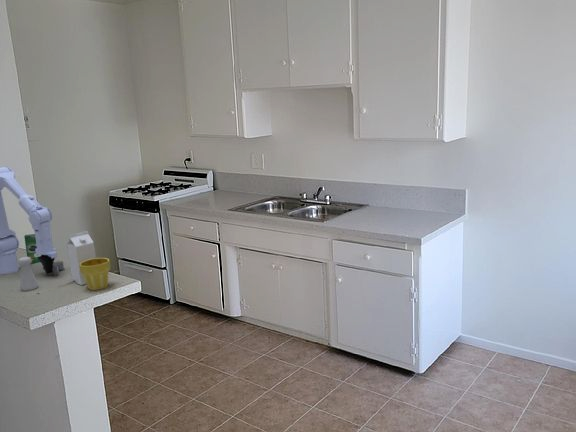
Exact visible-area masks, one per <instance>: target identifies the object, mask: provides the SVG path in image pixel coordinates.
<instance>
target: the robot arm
mask: <svg viewBox="0 0 576 432" xmlns="http://www.w3.org/2000/svg"><path fill="white" fill-rule="evenodd" d="M4 188H6V189H7V190H8V191H9V192H10V193H11V194H12V195H13V196H14V197H16V199H18V205H19V206H20V207H21V208H22V209H23V211H25V213H26V214H27V215H28V216H29V217H28V220H29V223H30V224H31V227H32V229H33V231H34V234H35V238H36V244H37V248H36V249H35V251H36V253H37V254H39V255H41V256H40V257H38V259H39V260H40V262H39V263H41V266H42V268H43V267H44V270H43V271H44V272H45V274H46V275H48V274H51V273H53V272H52V269H53V262H55V260H56V258H58V254H57V252H56V251H57V248H55V247H54V244H53V237H52V230H51V224H50V222H51V221H52V219H53V215H52V211H50V208H48V207H45V206H42V205H41V204H40V203H39V202H38V201H37V199H36V198H35V197H34V196H33V195H32V194H27V193H26V191H25V190H24V188H23V187H22V186H21V185H20V184H19V182H18V180H17V179H16V173H15V172H14V171H13V169H12V168H11V167H10V166H3V167H0V275H8V274H13V273H16V272H18V271H19V263H18V259H17V258H18V257H17V252H18V248H19V247H20V241H19V238H18V236H17V235H16V231H14V230H12V229H10V227H9V223H8V218H7V213H6V208H5V203H4V199H3V194H2V190H3V189H4Z"/></svg>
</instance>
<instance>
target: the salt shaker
mask: <svg viewBox="0 0 576 432" xmlns="http://www.w3.org/2000/svg"><path fill="white" fill-rule="evenodd" d="M17 262H18V266H21V267H20V286H19V288H20V289H21V291H22V292H29V291H34V290H37V288H38V287H39V282H38V279H37V278H36V275H35V272H34V270H33V267H32V264H30V263H32V260H31V258H30V257H27V256H23V257H20V258H19V259H17Z"/></svg>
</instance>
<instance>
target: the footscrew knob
mask: <svg viewBox="0 0 576 432" xmlns="http://www.w3.org/2000/svg"><path fill="white" fill-rule="evenodd" d="M64 270H65V265H64V261H60V260H59V261H54V262H53V269H52V273H53V276H54V277H58V276H59V275H60V272H63V271H64Z"/></svg>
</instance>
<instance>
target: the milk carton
mask: <svg viewBox="0 0 576 432" xmlns="http://www.w3.org/2000/svg"><path fill="white" fill-rule="evenodd" d="M66 247H67V253H68V254H67V255H68V260H69V266H70V267H69V268H70V274H71V279H72V283H74V284H77V285H80V286H83V285H87V283H86V280H85V278H84V276H83V274H81V271H80V266H79V264H80V263H81V262H83V261H85V260H89V259H94V258H97V257H96V250H95V244H94V240H93V239H92V238H91V236H90V234H89V231H87V230H85V231H81V232H77V233H73V234H72V233H71V234H69V239H68V241H67V243H66Z"/></svg>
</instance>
